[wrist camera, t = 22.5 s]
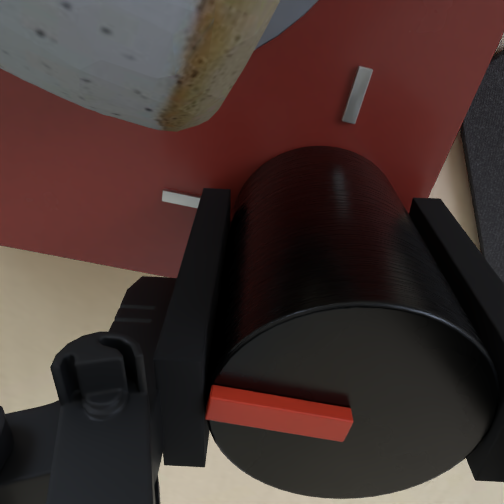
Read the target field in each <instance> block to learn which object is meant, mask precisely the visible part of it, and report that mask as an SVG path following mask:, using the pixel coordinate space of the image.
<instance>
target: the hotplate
mask: <svg viewBox="0 0 504 504" xmlns="http://www.w3.org/2000/svg"><path fill="white" fill-rule="evenodd" d="M503 33H504V0H318V1H317V2H316V4H315V5H314V6H313V7H312V8H311V9H310V10H309V11H308V12H307V13H306V14H305V15H304V16H302V17H301V18H300V19H299V20H297V21H296V22H295V23H294V24H292V25H291V26H290V27H289V28H287V29H286V30H285V31H284V32H282V33H281V34H280V35H279V36H277V37H276V38H274V39H272V40H271V41H269V42H267V43H266V44H264V45H262V46H261V47H259V48H257V49H256V50H254V51H253V53H252V55H251V57H250V59H249V60H248V62H247V64H246V66H245V68H244V69H243V71H242V72H241V74H240V76H239V77H238V79H237V81H236V82H235V84H234V85H233V87H232V89H231V90H230V92H229V94H228V95H227V97H226V98H225V100H224V102H223V103H222V105H221V107H220V108H219V110H218V111H217V112H216V113H215V114H214V115H213V116H212V117H211V118H210V119H209V120H208V121H206V122H203V123H201V124H199V125H197V126H193V127H190V128H187V129H183V130H180V131H177V132H175V131H163V130H157V129H152V128H148V127H145V126H142V125H138V124H135V123H132V122H128V121H125V120H122V119H118V118H115V117H111V116H106V115H103V114H100V113H98V112H96V111H93V110H90V109H87V108H84V107H82V106H80V105H78V104H75V103H73V102H71V101H68V100H66V99H64V98H61V97H59V96H57V95H55V94H53V93H50V92H48V91H46V90H44V89H42V88H40V87H38V86H36V85H34V84H31V83H29V82H27V81H24V80H22V79H21V78H19V77H17V76H15V75H13V74H11V73H9V72H7V71H5V70H3V69H1V68H0V245H1V246H6V247H12V248H17V249H22V250H27V251H33V252H38V253H43V254H48V255H54V256H59V257H64V258H70V259H75V260H80V261H85V262H91V263H96V264H101V265H106V266H112V267H117V268H122V269H128V270H133V271H138V272H143V273H149V274H154V275H159V276H164V277H170V278H177V276H178V273H179V269H180V266H181V262H182V259H183V256H184V252H185V249H186V246H187V242H188V239H189V235H190V232H191V229H192V225H193V222H194V218H195V215H196V212H197V208H198V205H199V201H200V198H201V195H202V191H203V188H215V189H231V206H230V226H231V219H232V213H233V208H234V204H235V201H236V199H237V196H238V194H239V192H240V190H241V188H242V187H243V185H244V184H245V182H246V181H247V180H248V179H249V177H250V176H251V175H252V174H253V173H254V172H255V171H256V170H257V169H258V168H259V167H261V166H262V165H263V164H265V163H266V162H268V161H269V160H270V159H272V158H274V157H276V156H278V155H280V154H282V153H285V152H288V151H290V150H293V149H298V148H302V147H309V146H331V147H338V148H342V149H346V150H349V151H352V152H355V153H357V154H359V155H361V156H363V157H365V158H366V159H368V160H369V161H371V162H372V163H373V164H375V165H376V166H377V167H378V168H379V169H380V170H381V171H382V172H383V173H384V174H385V176H386V177H387V178H388V180H389V181H390V183H391V185H392V186H393V188H394V190H395V191H396V193H397V195H398V197H399V198H400V200H401V202H402V204H403V205H404V207H405V209H406V211H407V212H408V214H409V211H410V207H411V203H412V199H413V198H428V197H429V195H430V192H431V190H432V188H433V186H434V184H435V182H436V179H437V177H438V175H439V173H440V171H441V168H442V166H443V164H444V162H445V160H446V158H447V155H448V153H449V151H450V149H451V147H452V144H453V142H454V140H455V138H456V136H457V134H458V131H459V129H460V127H461V125H462V123H463V120H464V118H465V116H466V114H467V112H468V110H469V107H470V105H471V103H472V101H473V99H474V96H475V94H476V92H477V90H478V88H479V85H480V83H481V81H482V79H483V77H484V75H485V72H486V70H487V68H488V66H489V64H490V61H491V59H492V57H493V55H494V53H495V51H496V48H497V46H498V44H499V42H500V40H501V37H502V35H503Z"/></svg>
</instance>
